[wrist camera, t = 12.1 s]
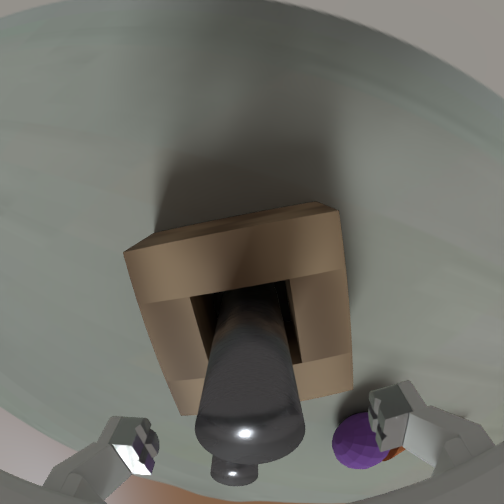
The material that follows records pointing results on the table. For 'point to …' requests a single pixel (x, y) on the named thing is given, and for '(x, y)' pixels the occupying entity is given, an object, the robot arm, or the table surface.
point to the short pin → (233, 472)
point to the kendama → (359, 443)
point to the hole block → (244, 275)
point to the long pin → (250, 382)
